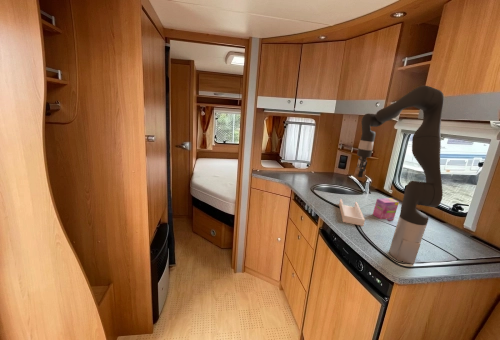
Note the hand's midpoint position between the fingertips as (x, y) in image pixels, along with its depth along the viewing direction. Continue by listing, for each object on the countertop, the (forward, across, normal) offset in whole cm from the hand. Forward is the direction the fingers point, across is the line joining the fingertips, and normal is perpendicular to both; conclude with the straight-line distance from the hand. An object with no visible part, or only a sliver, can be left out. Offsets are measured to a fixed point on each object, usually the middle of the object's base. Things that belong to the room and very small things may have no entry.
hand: (359, 175), depth 135 cm
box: (+22, -8, -16) cm, 28 cm away
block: (0, 0, 0) cm, 0 cm away
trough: (+21, -14, +3) cm, 26 cm away
